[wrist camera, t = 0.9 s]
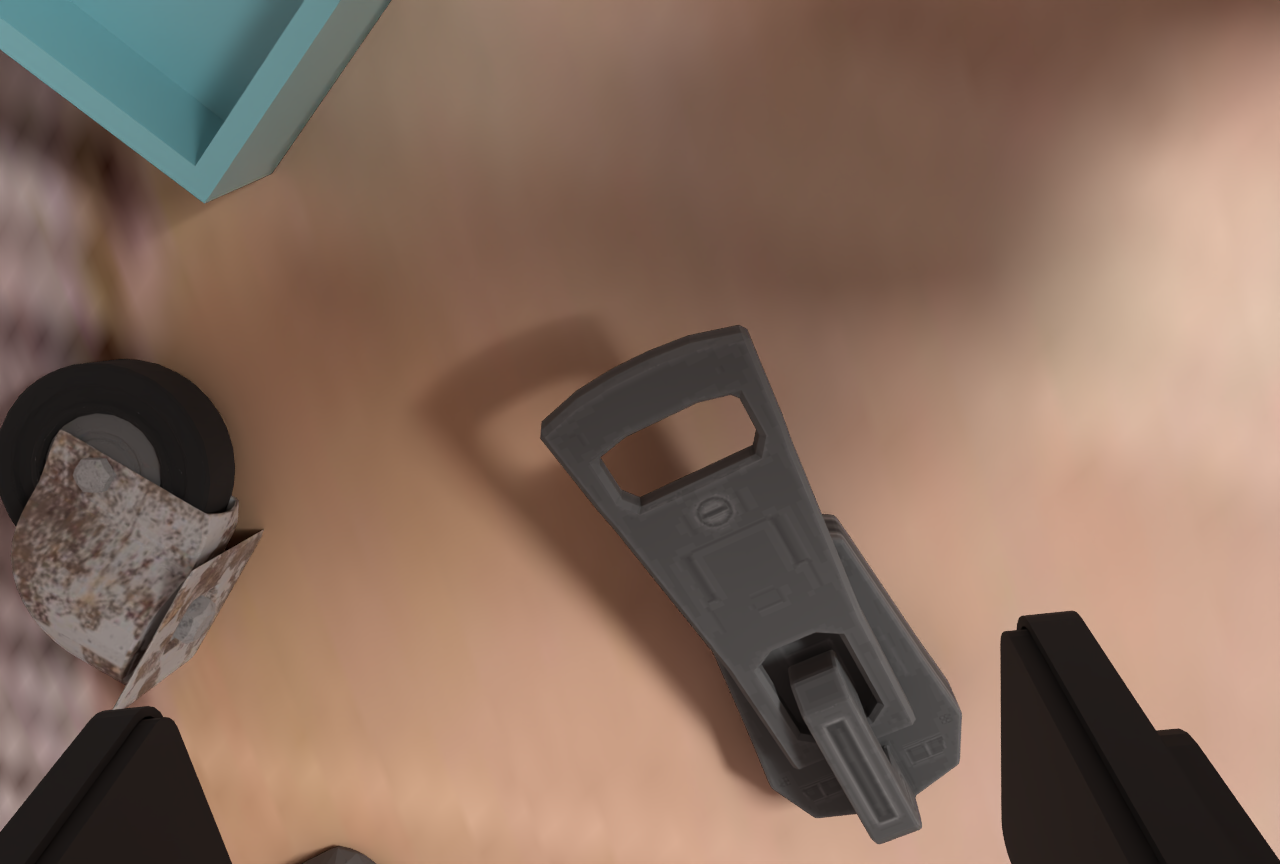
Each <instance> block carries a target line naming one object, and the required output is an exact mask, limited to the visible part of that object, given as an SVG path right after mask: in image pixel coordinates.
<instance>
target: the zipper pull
mask: <svg viewBox="0 0 1280 864" xmlns="http://www.w3.org/2000/svg"><path fill="white" fill-rule="evenodd" d="M728 395H733V396H735V397H738V398H740V400H741V402H742V404H743V406H744V408H745V409H746V411H747V413H748V415H749V417H750V419H751V421H752V422H753V424H754V426H755V428H756V432H755V437H754V442H753V445H752V446H749V447H747V448H745V449H743V450H741V451H739V452H736V453H734V454H732V455H730V456H728V457H726V458H724V459H721V460H719V461H717V462H715V463H713V464H711V465H708V466H706V467H704V468H702V469H700V470H698V471H696V472H693V473H691V474H689V475H687V476H685V477H683V478H680V479H678V480H676V481H674V482H672V483H670V484H668V485H665V486H663V487H661V488H659V489H657V490H655V491H652V492H650V493H648V494H646V495H644V496H642V497H638V496H635V495H633V494H631V493H628V492H626V491H623V490H621V488H620V487H619V485H618V484H617V482H616V481H615V479H614V478H613V476H612V475H611V473H610V472H609V470H608V468H607V467H606V465H605V464H604V462H603V461H602V459H601V456H603V455H604V454H605V453H606V452H607V451H609V450H610V449H611V448H612V447H614V446H615V445H616V444H617V443H619V442H620V441H621V440H622V439H624V438H625V437H627V436H629V435H631V434H633V433H635V432H637V431H639V430H641V429H643V428H645V427H647V426H650V425H652V424H654V423H656V422H658V421H660V420H662V419H664V418H666V417H668V416H670V415H672V414H675V413H677V412H679V411H681V410H683V409H685V408H687V407H689V406H691V405H693V404H695V403H698V402H702V401H706V400H711V399H715V398H719V397H724V396H728ZM540 439H541V440H542V441H543V443H544V444H545V445H546V446H547V448H548V449H549V450H550V451H551V453H552V454H553V455H554V456H555V458H556V459H557V460H558V461H559V463H560V464H561V465H562V466H563V468H564V469H565V470H566V471H567V473H568V474H569V475H570V476H571V478H572V479H573V480H574V481H575V483H576V484H577V485H578V486H579V488H580V489H581V490H582V492H583V493H584V494H585V495H586V497H587V498H588V499H589V500H590V502H591V503H592V504H593V505H594V507H595V508H596V509H597V510H598V512H599V513H600V514H601V515H602V516H603V517H604V518H605V519H606V521H607V522H608V523H609V524H610V525H611V526H612V527H613V529H614V530H615V531H616V532H617V534H618V535H619V536H620V537H621V539H622V540H623V541H624V542H625V544H626V545H627V546H628V547H629V549H630V550H631V551H632V552H633V553H634V555H635V556H636V557H637V558H638V560H639V561H640V562H641V563H642V565H643V566H644V567H645V568H646V570H647V571H648V572H649V573H650V575H651V576H652V577H653V578H654V580H655V581H656V582H657V583H658V585H659V586H660V587H661V588H662V590H663V591H664V592H665V593H666V595H667V596H668V597H669V598H670V600H671V601H672V602H673V603H674V604H675V606H676V607H677V608H678V609H679V611H680V612H681V613H682V614H683V616H684V617H685V618H686V619H687V621H688V622H689V623H690V624H691V626H692V627H693V628H694V629H695V631H696V632H697V633H698V634H699V636H700V637H701V638H702V639H703V641H704V642H705V643H706V644H707V646H708V647H709V648H710V649H711V650H712V652H713V653H714V656H715V658H716V660H717V662H718V665H719V667H720V669H721V672H722V674H723V676H724V679H725V681H726V683H727V685H728V688H729V690H730V692H731V695H732V697H733V699H734V702H735V704H736V706H737V708H738V711H739V713H740V715H741V718H742V720H743V722H744V724H745V727H746V729H747V731H748V734H749V736H750V738H751V741H752V743H753V746H754V748H755V750H756V753H757V755H758V758H759V760H760V763H761V765H762V767H763V770H764V772H765V775H766V777H767V780H768V782H769V784H770V786H771V788H772V789H774V790H775V791H776V792H778V793H779V794H781V795H782V796H784V797H785V798H787V799H788V800H790V801H791V802H792V803H794V804H795V805H797V806H798V807H800V808H801V809H803V810H804V811H806V812H807V813H809V814H810V815H811V816H813V817H815V818H824V817H833V816H842V815H851V814H857V815H858V817H859V818H860V820H861V822H862V824H863V825H864V827H865V829H866V830H867V832H868V834H869V836H870V837H871V839H872V840H873V841H874V842H876V843H877V844H882V843H885V842H888V841H890V840H893V839H896V838H898V837H901V836H904V835H906V834H909V833H912V832H915V831H917V830H920V829H921V828H922V822H921V817H920V813H919V810H918V806H917V802H916V798H915V797H916V795H917V794H918V793H920V792H921V791H923V790H924V789H925V788H927V787H928V786H929V785H931V784H932V783H933V782H935V781H936V780H938V779H939V778H940V777H942V776H943V775H944V774H946V773H947V772H949V771H950V770H951V769H953V768H954V767H955V766H957V765H958V764H959V761H960V744H961V721H962V713H961V710H960V708H959V705H958V703H957V701H956V698H955V696H954V694H953V692H952V689H951V687H950V685H949V682H948V680H947V679H946V678H945V676H944V675H943V673H942V672H941V670H940V669H939V668H938V666H937V665H936V663H935V662H934V661H933V659H932V658H931V656H930V655H929V653H928V652H927V651H926V649H925V648H924V646H923V645H922V644H921V642H920V641H919V639H918V638H917V636H916V635H915V633H914V632H913V630H912V629H911V627H910V626H909V624H908V623H907V621H906V620H905V619H904V617H903V616H902V614H901V613H900V611H899V610H898V608H897V607H896V605H895V604H894V602H893V601H892V599H891V598H890V596H889V595H888V593H887V592H886V590H885V589H884V587H883V586H882V584H881V583H880V581H879V580H878V578H877V577H876V575H875V574H874V572H873V571H872V569H871V568H870V566H869V565H868V563H867V562H866V560H865V559H864V557H863V556H862V554H861V553H860V551H859V550H858V548H857V547H856V545H855V544H854V542H853V541H852V539H851V538H850V536H849V535H848V533H847V532H846V530H845V529H844V528H843V526H842V525H841V523H840V522H839V520H838V519H837V518H836V517H835V516H834V515H829V514H821V511H820V509H819V506H818V504H817V501H816V499H815V496H814V494H813V491H812V489H811V487H810V484H809V482H808V479H807V477H806V474H805V472H804V469H803V467H802V464H801V462H800V460H799V457H798V455H797V452H796V450H795V447H794V445H793V442H792V440H791V437H790V435H789V432H788V429H787V426H786V423H785V421H784V418H783V415H782V412H781V410H780V408H779V405H778V403H777V400H776V398H775V396H774V393H773V391H772V388H771V386H770V383H769V381H768V379H767V376H766V374H765V371H764V369H763V367H762V364H761V362H760V359H759V357H758V354H757V352H756V350H755V347H754V345H753V342H752V340H751V338H750V335H749V333H748V330H747V329H746V328H744V327H742V326H740V325H736V326H731V327H726V328H721V329H717V330H712V331H707V332H702V333H698V334H693V335H688V336H685V337H683V338H680V339H678V340H675V341H672V342H670V343H667V344H665V345H662V346H659V347H657V348H654V349H652V350H649V351H647V352H645V353H643V354H641V355H639V356H637V357H635V358H633V359H631V360H629V361H627V362H625V363H623V364H621V365H619V366H617V367H615V368H613V369H611V370H609V371H607V372H606V373H604V374H602V375H601V376H599V377H598V378H596V379H594V380H593V381H591V382H590V383H588V384H586V385H585V386H583V387H582V388H580V389H578V390H577V391H576V392H574V393H573V394H572V395H571V396H570V397H569V398H568V399H567V400H565V401H564V402H563V403H562V404H561V405H560V406H559V407H558V408H556V409H555V410H554V411H553V412H552V413H551V414H550V415H549V416H547V417H546V418H545V419H544V420H543V421H542V424H541V437H540Z"/></svg>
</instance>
